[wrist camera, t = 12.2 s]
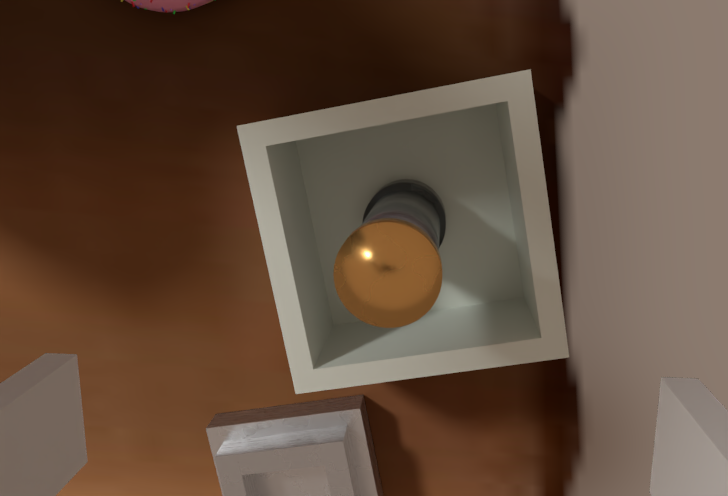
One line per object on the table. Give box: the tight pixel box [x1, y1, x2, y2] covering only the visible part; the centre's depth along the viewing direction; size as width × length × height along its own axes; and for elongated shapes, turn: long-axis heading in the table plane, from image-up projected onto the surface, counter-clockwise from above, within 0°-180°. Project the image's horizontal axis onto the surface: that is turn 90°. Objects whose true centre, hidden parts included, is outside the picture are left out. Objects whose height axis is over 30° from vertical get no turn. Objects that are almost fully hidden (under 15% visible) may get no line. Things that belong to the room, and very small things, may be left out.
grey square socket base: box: [206, 395, 384, 496], centre depth 44 cm, size 10×10×4 cm
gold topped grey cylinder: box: [333, 179, 446, 328], centre depth 34 cm, size 5×5×13 cm
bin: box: [237, 69, 569, 394], centre depth 37 cm, size 14×14×8 cm
